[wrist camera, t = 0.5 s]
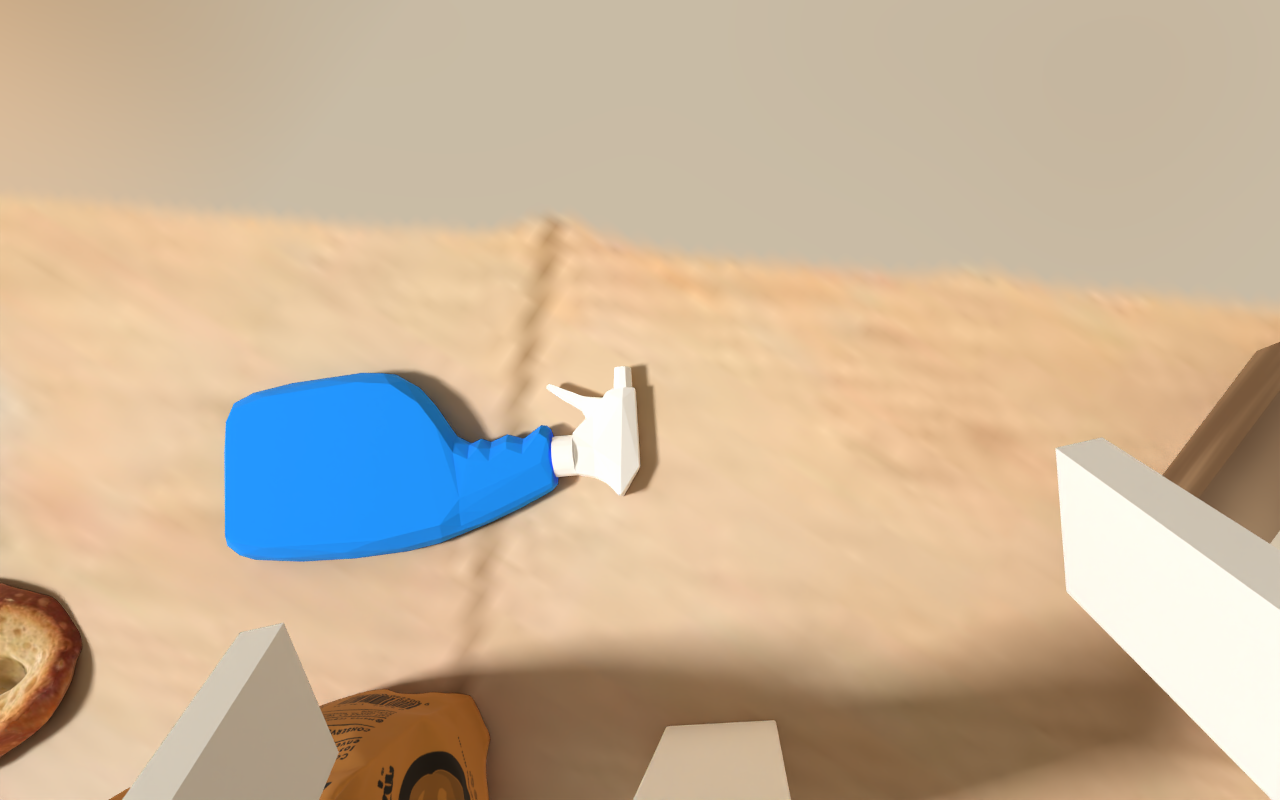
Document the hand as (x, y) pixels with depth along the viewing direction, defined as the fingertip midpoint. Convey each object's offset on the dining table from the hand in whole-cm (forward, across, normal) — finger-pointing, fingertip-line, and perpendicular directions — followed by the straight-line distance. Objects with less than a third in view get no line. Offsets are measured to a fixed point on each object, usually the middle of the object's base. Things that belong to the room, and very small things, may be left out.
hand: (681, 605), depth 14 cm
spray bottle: (+35, +14, +9) cm, 39 cm away
